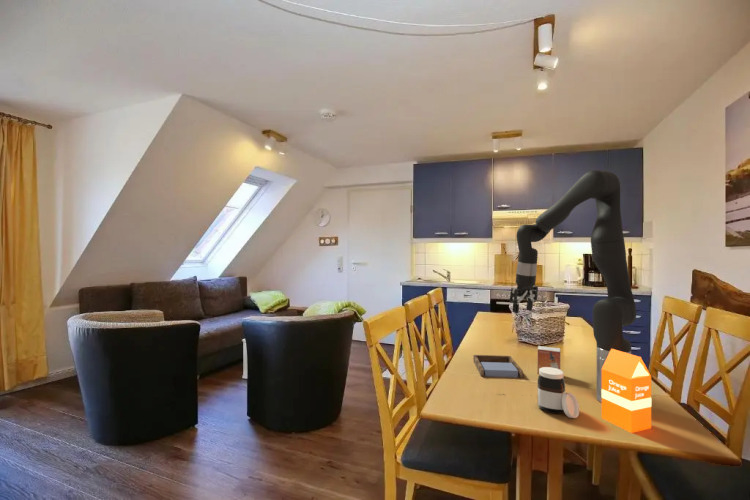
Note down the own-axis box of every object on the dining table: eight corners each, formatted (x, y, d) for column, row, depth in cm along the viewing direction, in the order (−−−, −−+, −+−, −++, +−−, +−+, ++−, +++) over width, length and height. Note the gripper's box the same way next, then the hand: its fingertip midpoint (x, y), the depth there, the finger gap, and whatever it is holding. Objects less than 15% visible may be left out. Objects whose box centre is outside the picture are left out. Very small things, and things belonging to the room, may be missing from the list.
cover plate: (517, 377, 133) (517, 370, 133) (485, 376, 134) (485, 369, 134) (511, 369, 142) (511, 362, 142) (480, 368, 143) (480, 361, 143)
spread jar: (538, 399, 116) (538, 364, 116) (578, 406, 110) (578, 369, 110) (536, 415, 105) (536, 376, 105) (580, 423, 100) (580, 382, 100)
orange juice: (620, 413, 105) (620, 347, 105) (651, 428, 97) (651, 355, 97) (601, 418, 103) (600, 349, 103) (631, 433, 95) (631, 358, 94)
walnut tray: (522, 380, 132) (522, 370, 132) (481, 378, 134) (481, 369, 134) (510, 364, 150) (510, 355, 150) (473, 362, 152) (473, 354, 152)
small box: (537, 376, 136) (536, 349, 136) (537, 371, 141) (537, 345, 141) (560, 379, 132) (560, 351, 132) (560, 374, 137) (560, 347, 137)
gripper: (522, 276, 138) (518, 316, 140) (545, 273, 145) (541, 312, 147) (506, 272, 144) (503, 310, 147) (529, 270, 151) (525, 307, 154)
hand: (522, 311), depth 147 cm, fingers open, 8 cm apart
